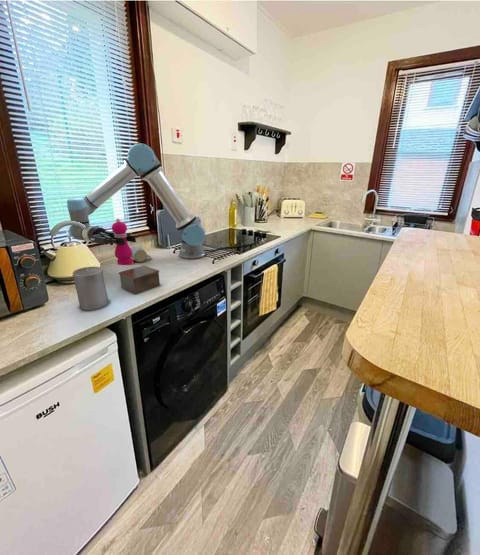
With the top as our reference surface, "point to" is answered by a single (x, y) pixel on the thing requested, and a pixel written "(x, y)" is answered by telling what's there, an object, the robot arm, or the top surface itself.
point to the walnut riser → (139, 279)
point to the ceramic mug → (139, 254)
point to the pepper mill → (122, 250)
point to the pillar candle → (90, 288)
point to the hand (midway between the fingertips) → (129, 240)
